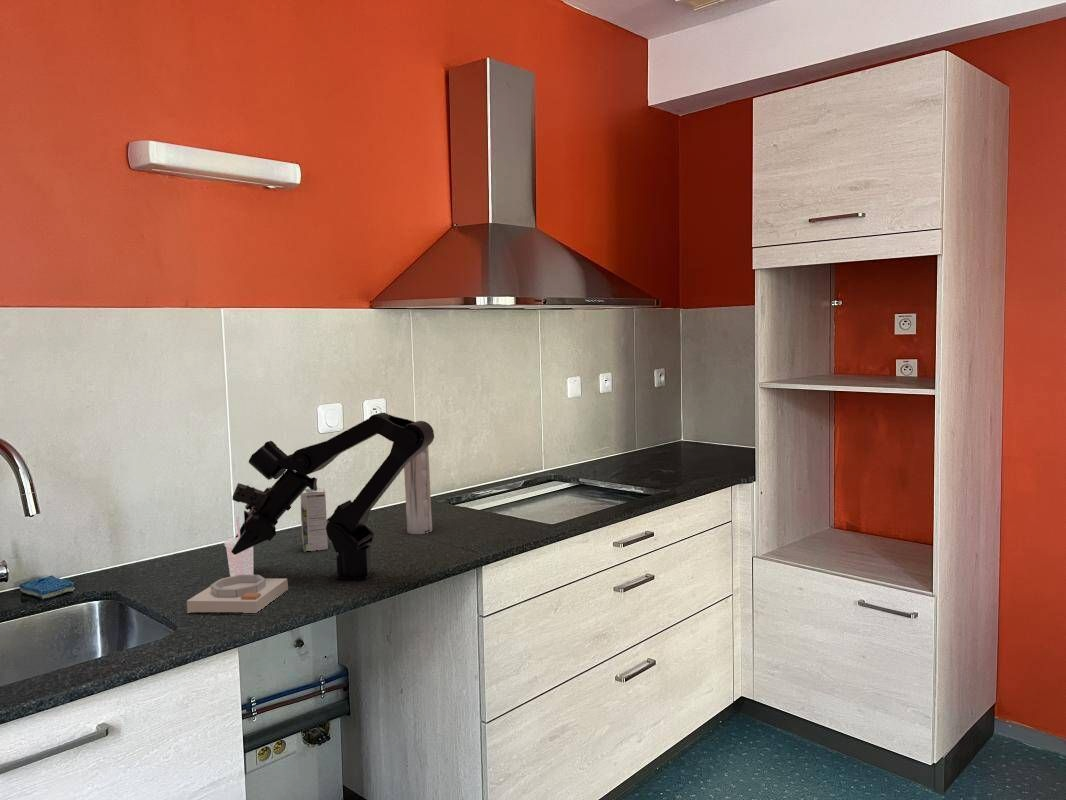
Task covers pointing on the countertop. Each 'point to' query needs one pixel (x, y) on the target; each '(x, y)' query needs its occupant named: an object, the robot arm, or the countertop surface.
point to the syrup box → (314, 520)
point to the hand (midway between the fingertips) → (233, 549)
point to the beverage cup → (239, 557)
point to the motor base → (236, 602)
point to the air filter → (418, 494)
